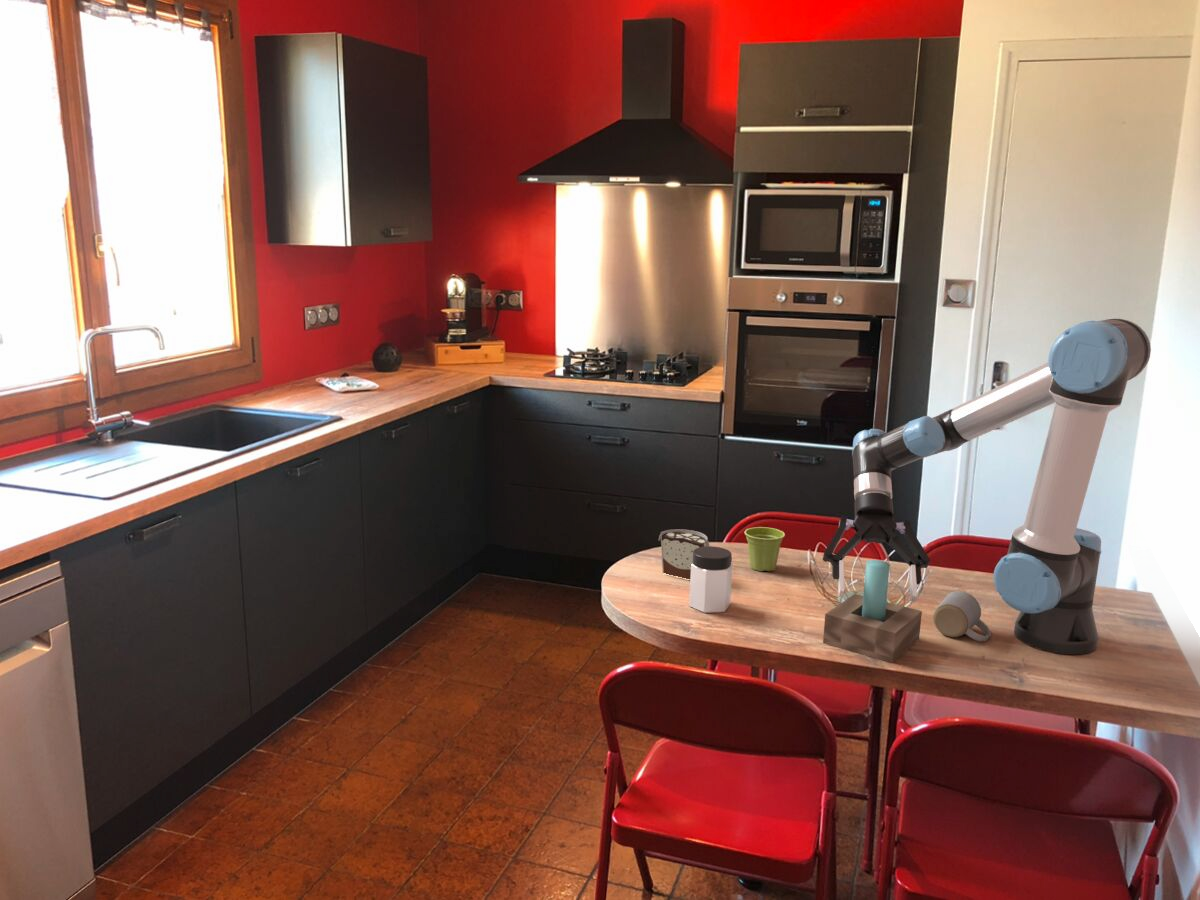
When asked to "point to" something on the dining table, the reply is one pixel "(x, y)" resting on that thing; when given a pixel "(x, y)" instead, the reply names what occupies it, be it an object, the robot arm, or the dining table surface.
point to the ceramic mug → (960, 616)
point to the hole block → (872, 629)
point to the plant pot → (763, 547)
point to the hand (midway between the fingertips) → (877, 596)
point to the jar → (710, 579)
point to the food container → (680, 550)
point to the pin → (875, 590)
